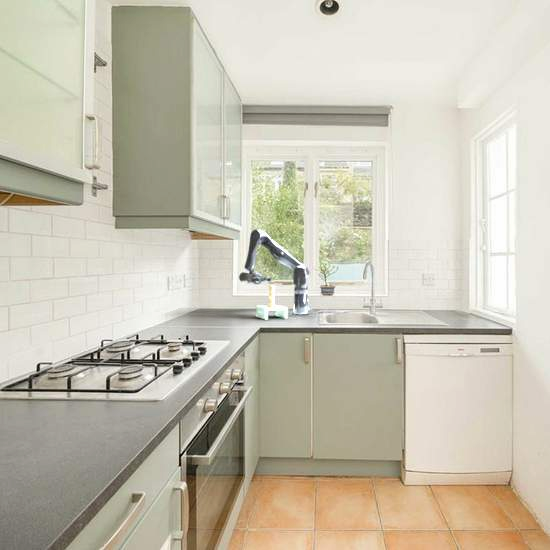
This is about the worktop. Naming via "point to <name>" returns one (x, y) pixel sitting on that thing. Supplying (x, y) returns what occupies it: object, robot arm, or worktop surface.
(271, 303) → the stick
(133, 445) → the worktop surface
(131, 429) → the worktop surface
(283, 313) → the shelf
